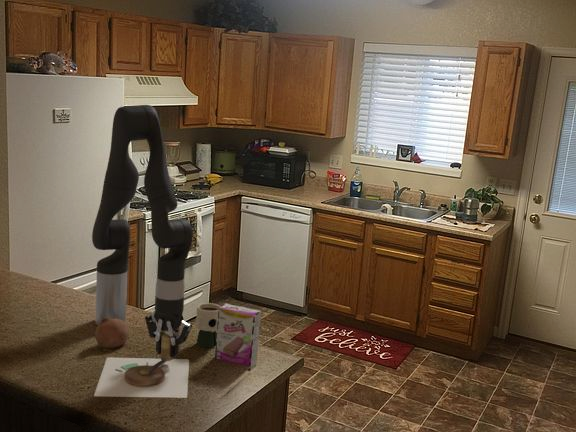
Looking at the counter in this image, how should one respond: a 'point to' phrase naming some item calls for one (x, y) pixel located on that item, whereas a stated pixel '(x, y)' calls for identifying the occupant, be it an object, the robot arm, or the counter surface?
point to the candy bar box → (237, 334)
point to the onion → (111, 333)
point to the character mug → (207, 324)
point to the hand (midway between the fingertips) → (166, 354)
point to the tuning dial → (150, 367)
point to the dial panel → (170, 387)
